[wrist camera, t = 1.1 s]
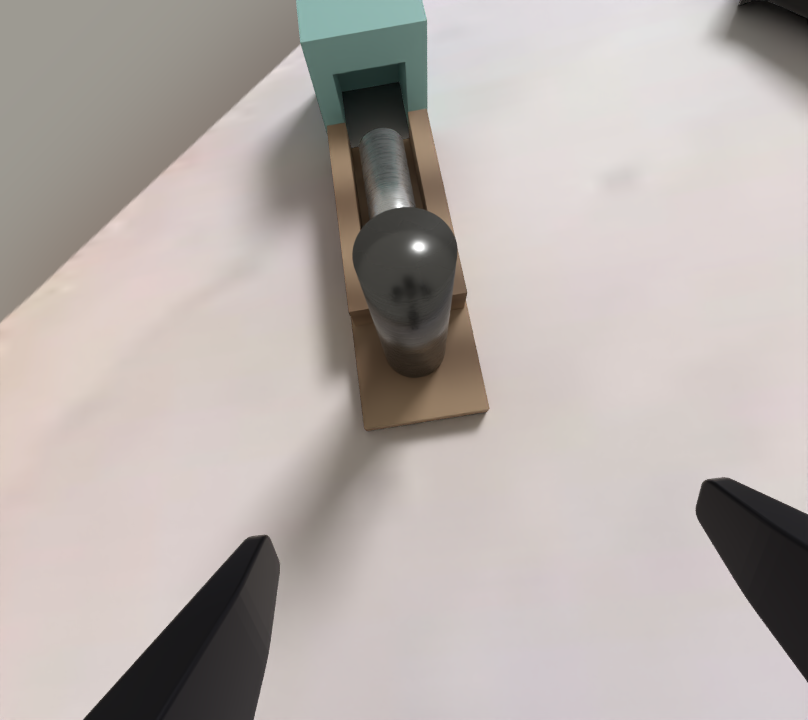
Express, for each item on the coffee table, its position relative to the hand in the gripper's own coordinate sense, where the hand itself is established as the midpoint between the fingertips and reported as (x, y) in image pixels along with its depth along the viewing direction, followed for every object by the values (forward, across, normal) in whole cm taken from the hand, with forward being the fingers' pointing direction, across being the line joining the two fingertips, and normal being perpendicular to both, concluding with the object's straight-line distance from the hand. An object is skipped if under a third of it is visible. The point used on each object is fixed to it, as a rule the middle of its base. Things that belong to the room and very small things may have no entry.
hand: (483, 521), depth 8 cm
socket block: (+28, +1, -11) cm, 31 cm away
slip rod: (+18, +1, -2) cm, 18 cm away
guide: (+19, +1, -1) cm, 19 cm away
